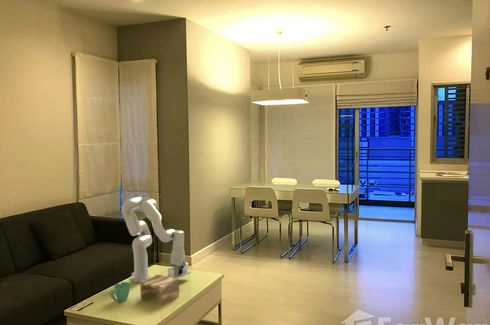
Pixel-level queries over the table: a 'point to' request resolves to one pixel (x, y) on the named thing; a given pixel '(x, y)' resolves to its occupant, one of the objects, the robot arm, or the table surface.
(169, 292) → the wooden bridge
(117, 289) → the mug
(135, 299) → the table surface
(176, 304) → the table surface
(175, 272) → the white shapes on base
